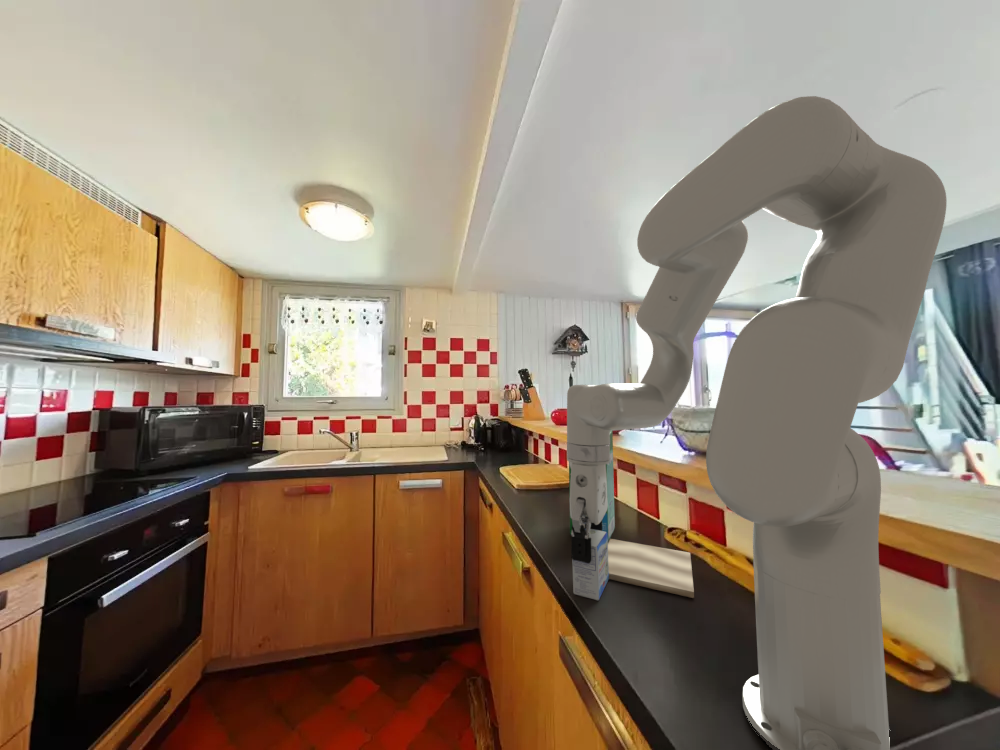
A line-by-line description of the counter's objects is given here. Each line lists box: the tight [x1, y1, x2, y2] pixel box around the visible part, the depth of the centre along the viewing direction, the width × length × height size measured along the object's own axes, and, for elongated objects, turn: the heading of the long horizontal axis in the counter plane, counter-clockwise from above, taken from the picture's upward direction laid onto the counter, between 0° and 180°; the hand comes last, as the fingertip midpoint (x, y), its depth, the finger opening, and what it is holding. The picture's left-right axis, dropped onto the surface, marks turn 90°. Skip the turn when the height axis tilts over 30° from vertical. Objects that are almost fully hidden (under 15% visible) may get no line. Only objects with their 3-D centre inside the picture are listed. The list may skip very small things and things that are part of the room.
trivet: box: [608, 538, 695, 599], centre depth 68 cm, size 16×16×1 cm
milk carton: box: [568, 430, 616, 542], centre depth 86 cm, size 9×9×25 cm
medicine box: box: [571, 529, 610, 601], centre depth 61 cm, size 8×4×9 cm, turn 151°
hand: (587, 548), depth 62 cm, fingers open, 9 cm apart
